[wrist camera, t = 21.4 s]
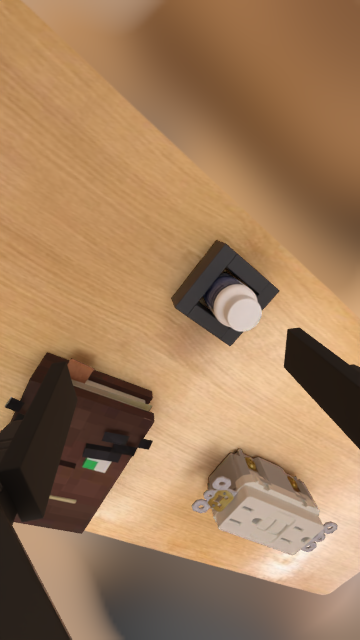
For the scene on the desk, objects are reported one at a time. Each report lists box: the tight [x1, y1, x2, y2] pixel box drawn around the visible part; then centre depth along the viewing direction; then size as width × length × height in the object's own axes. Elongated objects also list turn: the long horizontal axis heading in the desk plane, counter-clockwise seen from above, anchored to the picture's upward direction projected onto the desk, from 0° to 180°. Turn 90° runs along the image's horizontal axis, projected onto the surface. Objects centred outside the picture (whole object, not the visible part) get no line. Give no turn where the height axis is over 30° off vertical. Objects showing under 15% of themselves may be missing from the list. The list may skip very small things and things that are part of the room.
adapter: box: [171, 240, 279, 346], centre depth 36 cm, size 10×10×4 cm
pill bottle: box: [203, 273, 262, 332], centre depth 34 cm, size 5×5×10 cm
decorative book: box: [5, 353, 154, 533], centre depth 40 cm, size 19×8×30 cm
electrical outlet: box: [192, 449, 337, 555], centre depth 51 cm, size 12×28×10 cm, turn 57°
